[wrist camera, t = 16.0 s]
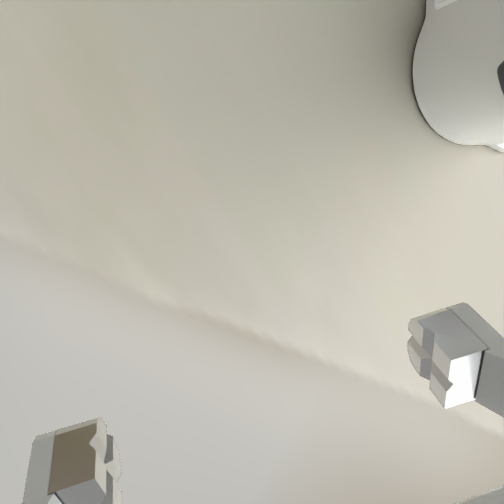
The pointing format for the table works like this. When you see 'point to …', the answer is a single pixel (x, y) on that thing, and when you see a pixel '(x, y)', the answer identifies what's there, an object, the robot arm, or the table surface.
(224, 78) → the table surface
